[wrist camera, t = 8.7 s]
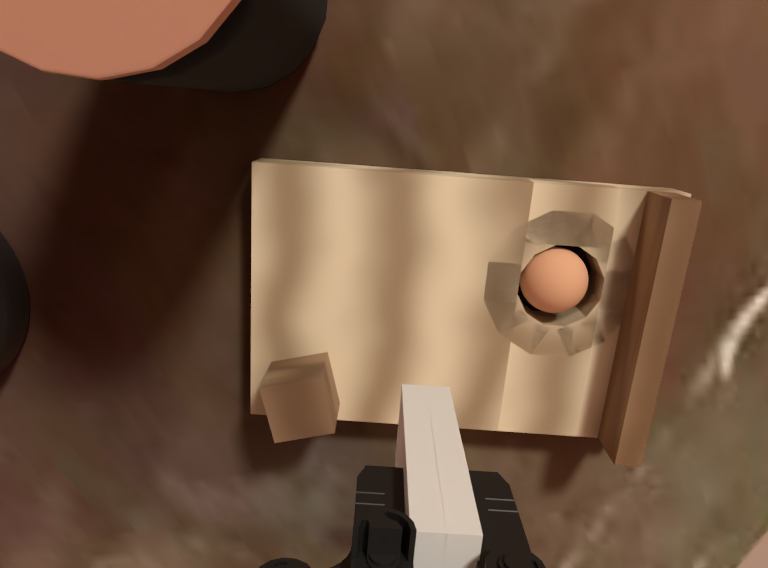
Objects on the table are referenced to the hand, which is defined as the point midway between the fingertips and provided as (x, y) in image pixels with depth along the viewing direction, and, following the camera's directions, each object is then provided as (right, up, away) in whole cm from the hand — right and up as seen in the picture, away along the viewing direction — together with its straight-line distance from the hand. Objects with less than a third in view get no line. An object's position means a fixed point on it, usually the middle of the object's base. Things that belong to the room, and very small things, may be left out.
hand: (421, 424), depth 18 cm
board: (+3, +4, +19) cm, 20 cm away
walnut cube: (-6, -2, +19) cm, 20 cm away
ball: (+9, +5, +17) cm, 20 cm away
